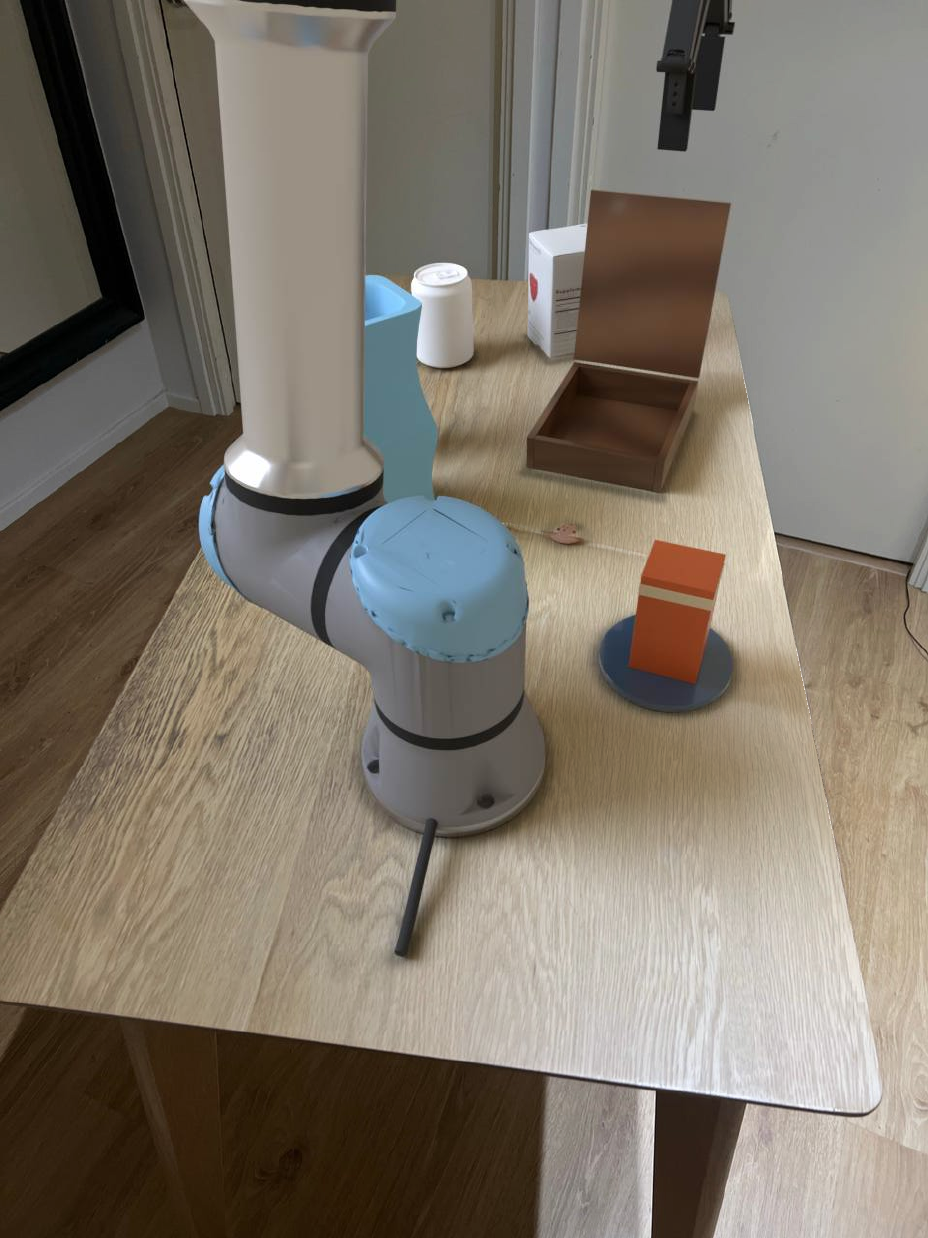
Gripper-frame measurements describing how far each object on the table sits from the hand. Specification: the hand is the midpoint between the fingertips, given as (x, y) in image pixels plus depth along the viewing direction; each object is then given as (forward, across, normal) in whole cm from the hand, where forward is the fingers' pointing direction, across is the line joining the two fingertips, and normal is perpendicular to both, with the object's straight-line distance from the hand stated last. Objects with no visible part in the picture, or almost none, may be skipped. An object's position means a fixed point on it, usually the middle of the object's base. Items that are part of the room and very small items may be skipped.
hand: (687, 128), depth 89 cm
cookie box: (+32, -42, -11) cm, 54 cm away
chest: (+33, -8, +3) cm, 34 cm away
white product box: (+33, +15, +16) cm, 40 cm away
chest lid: (+18, +3, +3) cm, 19 cm away
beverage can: (+33, +6, +31) cm, 46 cm away
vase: (+33, -31, +23) cm, 51 cm away
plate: (+33, -42, -11) cm, 54 cm away
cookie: (+33, -27, +3) cm, 42 cm away
